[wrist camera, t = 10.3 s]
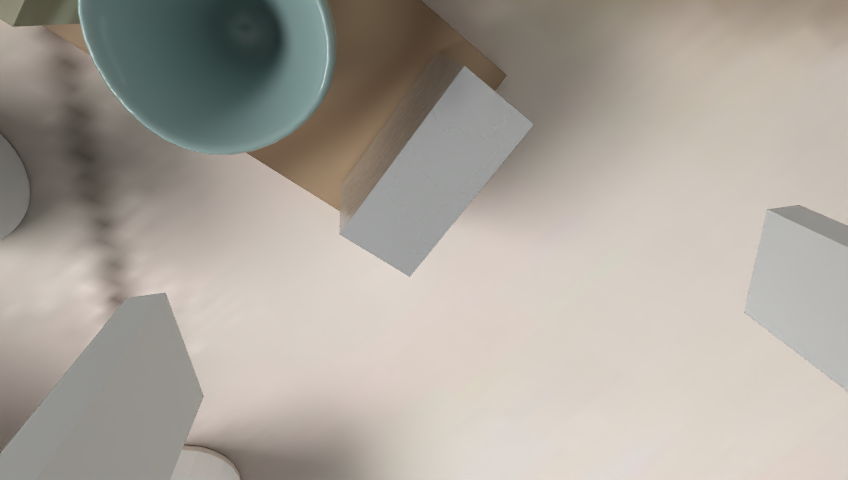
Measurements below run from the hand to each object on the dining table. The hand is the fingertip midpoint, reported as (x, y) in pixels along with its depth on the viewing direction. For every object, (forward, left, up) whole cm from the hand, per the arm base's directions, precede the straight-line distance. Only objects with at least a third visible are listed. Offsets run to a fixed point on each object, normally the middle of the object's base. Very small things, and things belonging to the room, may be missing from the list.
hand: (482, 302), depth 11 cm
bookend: (+1, 0, -18) cm, 18 cm away
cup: (-9, 0, -19) cm, 21 cm away
